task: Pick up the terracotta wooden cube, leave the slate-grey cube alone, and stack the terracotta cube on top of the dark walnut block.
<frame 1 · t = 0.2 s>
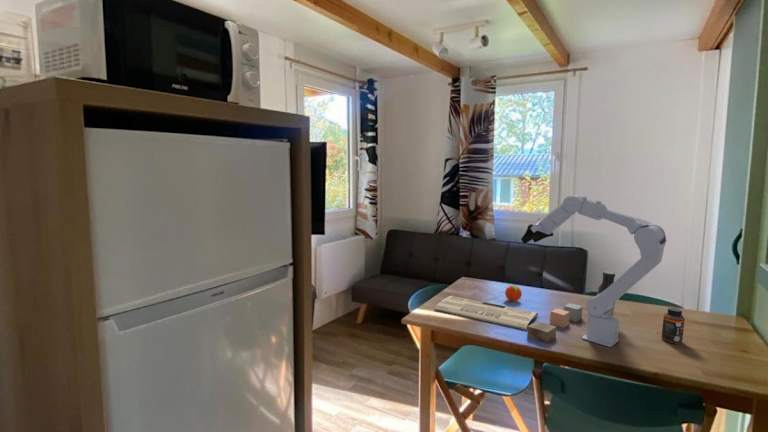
hand: (528, 240, 160), 31 cm above the table, tool tilted 45°, fingers open, 7 cm apart
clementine: (513, 301, 183), on the table
terracotta cube: (559, 324, 158), on the table
sauce bottle: (603, 323, 160), on the table
slate cube: (572, 318, 164), on the table
walnut block: (541, 337, 145), on the table
supplement bottle: (671, 341, 144), on the table
newspaper: (484, 315, 168), on the table
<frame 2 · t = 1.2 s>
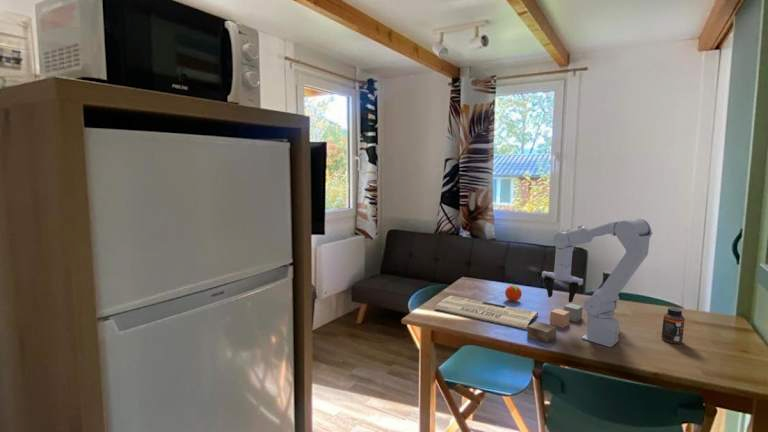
hand: (560, 299, 157), 10 cm above the table, tool pointing down, fingers open, 7 cm apart
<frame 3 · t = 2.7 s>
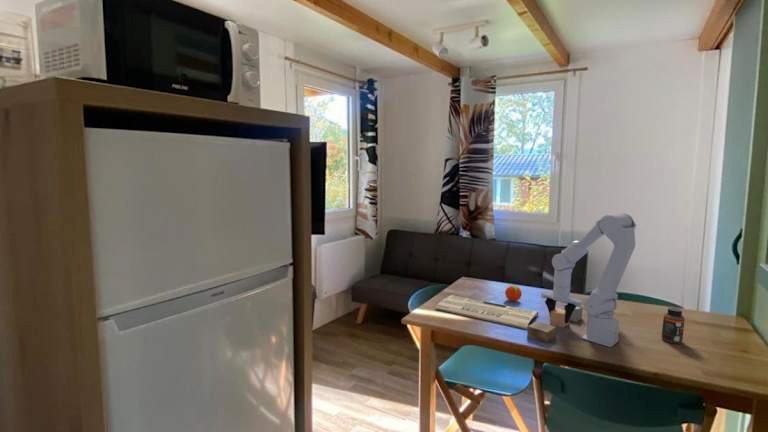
hand: (559, 320, 158), 1 cm above the table, tool pointing down, fingers closed on terracotta cube, 5 cm apart
terracotta cube: (559, 324, 158), on the table, touching gripper
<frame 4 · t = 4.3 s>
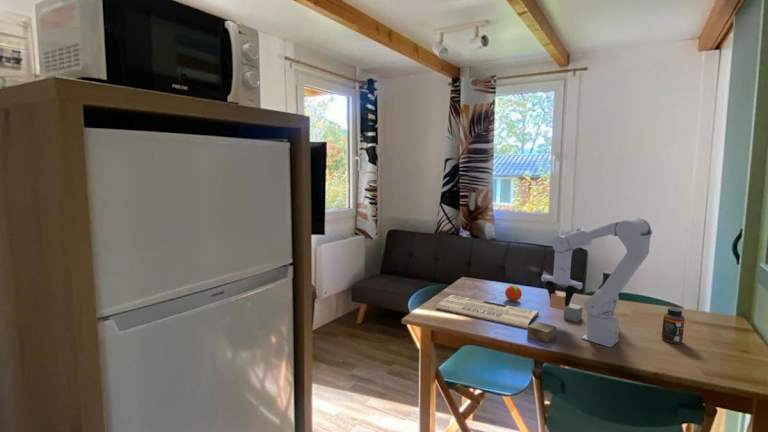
hand: (559, 303, 156), 8 cm above the table, tool pointing down, fingers closed on terracotta cube, 5 cm apart
terracotta cube: (559, 307, 156), point 7 cm above the table, touching gripper
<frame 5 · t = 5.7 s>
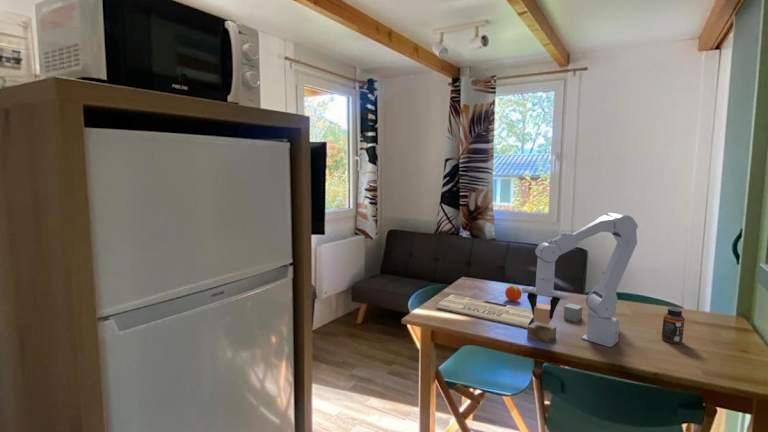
hand: (542, 316, 144), 8 cm above the table, tool pointing down, fingers closed on terracotta cube, 5 cm apart
terracotta cube: (542, 320, 145), point 6 cm above the table, touching gripper
when the fingers open (6 cm above the table, at t = 6.4 s): terracotta cube stays where it is, resting on walnut block.
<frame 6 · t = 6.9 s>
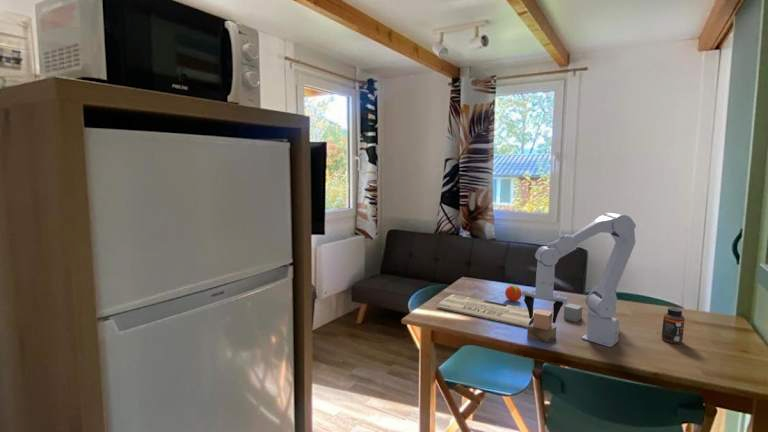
hand: (542, 319, 145), 6 cm above the table, tool pointing down, fingers open, 7 cm apart
terracotta cube: (542, 326, 145), point 4 cm above the table, touching walnut block
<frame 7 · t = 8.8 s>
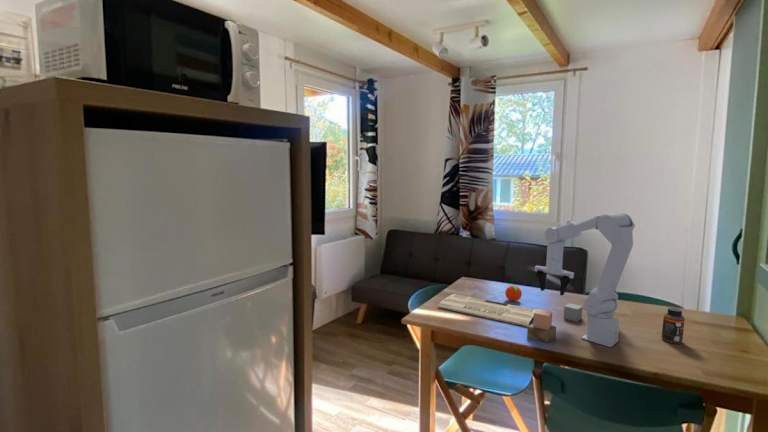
hand: (552, 292, 162), 10 cm above the table, tool pointing down, fingers open, 7 cm apart
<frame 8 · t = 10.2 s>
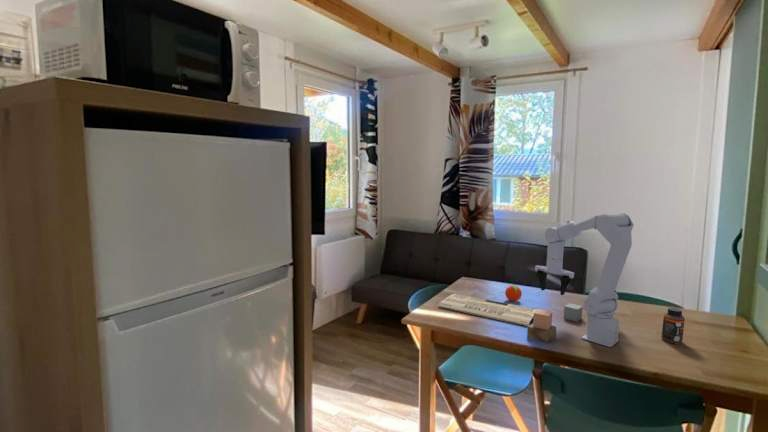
hand: (552, 292, 163), 10 cm above the table, tool pointing down, fingers open, 7 cm apart
at the end: terracotta cube 0.3 cm off-centre on the walnut block, point 4.0 cm above the walnut block's base; terracotta cube tilted 0°; the gripper is holding nothing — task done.
